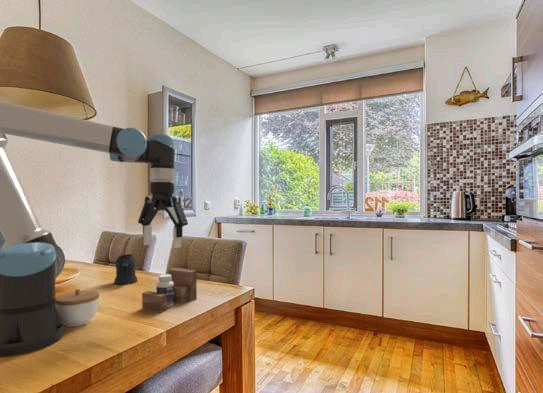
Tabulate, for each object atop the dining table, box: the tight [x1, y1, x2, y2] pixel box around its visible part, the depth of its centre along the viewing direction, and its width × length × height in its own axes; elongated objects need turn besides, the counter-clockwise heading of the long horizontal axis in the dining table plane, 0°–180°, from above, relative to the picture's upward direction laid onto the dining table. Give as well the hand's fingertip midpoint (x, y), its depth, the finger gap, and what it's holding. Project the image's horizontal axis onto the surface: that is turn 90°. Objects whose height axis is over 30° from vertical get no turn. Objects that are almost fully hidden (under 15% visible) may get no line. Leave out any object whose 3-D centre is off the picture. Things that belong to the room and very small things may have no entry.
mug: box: [113, 253, 138, 286], centre depth 132 cm, size 12×9×11 cm
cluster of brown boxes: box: [141, 267, 198, 314], centre depth 105 cm, size 15×10×10 cm, turn 153°
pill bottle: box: [155, 273, 175, 308], centre depth 104 cm, size 5×5×10 cm
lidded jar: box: [55, 288, 100, 328], centre depth 89 cm, size 11×11×9 cm
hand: (161, 246), depth 104 cm, fingers open, 13 cm apart
